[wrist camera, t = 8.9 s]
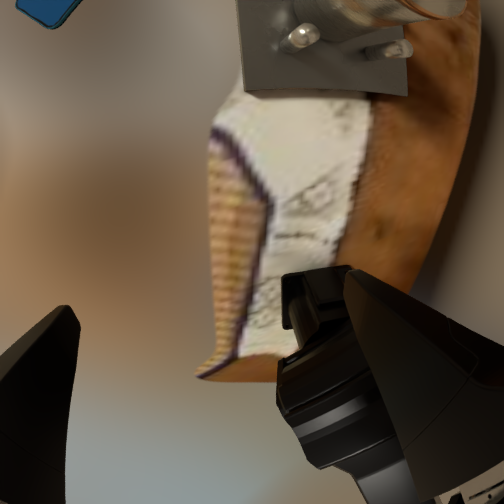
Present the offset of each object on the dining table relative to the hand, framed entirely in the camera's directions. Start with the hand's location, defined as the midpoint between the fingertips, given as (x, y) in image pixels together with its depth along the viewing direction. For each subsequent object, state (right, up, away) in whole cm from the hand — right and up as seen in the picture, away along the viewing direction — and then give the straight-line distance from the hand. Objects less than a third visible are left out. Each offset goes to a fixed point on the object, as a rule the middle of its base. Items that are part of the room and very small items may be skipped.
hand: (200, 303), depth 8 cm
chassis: (+6, +18, +5) cm, 20 cm away
